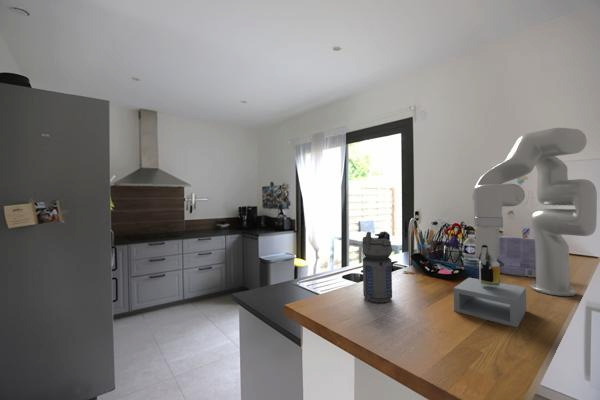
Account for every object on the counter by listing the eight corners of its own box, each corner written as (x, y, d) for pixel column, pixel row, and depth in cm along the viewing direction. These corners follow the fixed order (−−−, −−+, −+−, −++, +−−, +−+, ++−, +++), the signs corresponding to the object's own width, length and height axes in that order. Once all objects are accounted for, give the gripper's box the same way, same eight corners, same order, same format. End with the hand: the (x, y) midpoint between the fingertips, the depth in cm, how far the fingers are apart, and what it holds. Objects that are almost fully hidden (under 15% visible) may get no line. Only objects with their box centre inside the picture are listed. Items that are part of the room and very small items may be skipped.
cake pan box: (542, 276, 121) (541, 237, 122) (543, 279, 118) (542, 239, 118) (491, 270, 134) (490, 235, 134) (490, 272, 130) (489, 236, 130)
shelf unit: (469, 298, 97) (468, 277, 97) (526, 310, 85) (525, 287, 85) (454, 310, 86) (453, 287, 86) (517, 327, 74) (516, 300, 75)
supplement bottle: (503, 287, 83) (503, 256, 83) (484, 286, 84) (483, 256, 84) (494, 282, 88) (494, 252, 88) (476, 281, 89) (475, 252, 89)
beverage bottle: (401, 297, 99) (399, 230, 99) (380, 307, 90) (379, 233, 90) (377, 291, 107) (376, 228, 107) (356, 299, 98) (355, 231, 98)
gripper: (481, 220, 95) (483, 271, 94) (466, 224, 83) (468, 282, 83) (508, 221, 89) (509, 275, 89) (496, 225, 77) (497, 287, 77)
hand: (489, 278), depth 86 cm, fingers closed on supplement bottle, 5 cm apart
